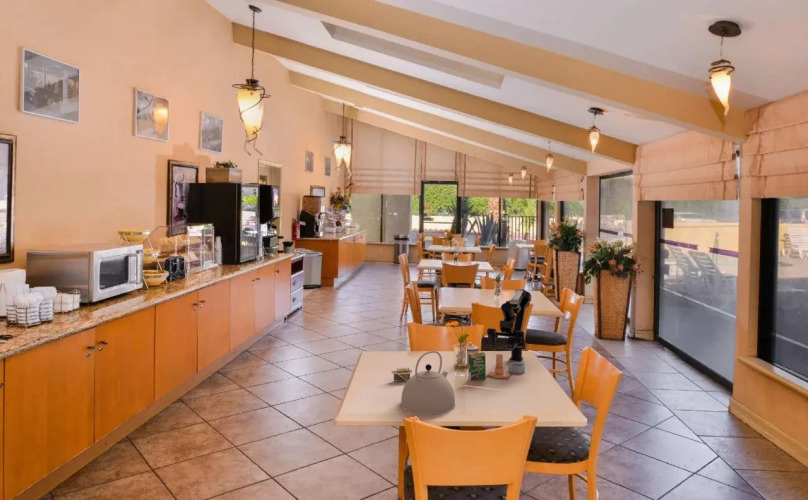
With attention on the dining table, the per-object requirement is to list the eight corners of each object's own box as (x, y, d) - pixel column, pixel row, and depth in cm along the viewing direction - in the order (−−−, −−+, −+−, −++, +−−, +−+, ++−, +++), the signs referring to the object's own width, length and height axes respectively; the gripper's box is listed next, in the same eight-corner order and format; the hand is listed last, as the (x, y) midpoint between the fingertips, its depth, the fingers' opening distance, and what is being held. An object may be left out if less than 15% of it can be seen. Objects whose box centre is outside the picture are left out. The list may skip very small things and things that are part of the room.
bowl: (510, 369, 293) (510, 362, 293) (525, 371, 290) (525, 363, 290) (507, 373, 286) (507, 365, 286) (522, 375, 283) (523, 367, 283)
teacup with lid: (480, 363, 305) (481, 341, 304) (475, 367, 296) (476, 345, 296) (459, 360, 310) (459, 339, 309) (453, 364, 301) (454, 342, 301)
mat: (490, 372, 288) (490, 371, 288) (512, 375, 284) (512, 373, 284) (485, 378, 278) (485, 377, 278) (507, 381, 273) (507, 380, 273)
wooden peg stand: (491, 371, 287) (491, 351, 286) (511, 374, 283) (511, 353, 283) (486, 377, 278) (486, 356, 277) (507, 379, 274) (507, 358, 273)
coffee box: (470, 382, 272) (470, 354, 271) (467, 380, 275) (468, 353, 274) (485, 380, 274) (486, 353, 273) (483, 378, 277) (483, 352, 276)
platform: (423, 384, 269) (424, 370, 268) (386, 387, 265) (386, 373, 264) (417, 377, 280) (417, 364, 280) (381, 379, 276) (381, 366, 276)
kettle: (426, 390, 259) (426, 341, 257) (468, 402, 245) (469, 349, 243) (390, 405, 240) (390, 352, 238) (433, 418, 225) (434, 362, 224)
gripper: (488, 312, 293) (481, 338, 284) (524, 315, 285) (519, 342, 276) (492, 324, 301) (485, 350, 291) (527, 328, 293) (522, 354, 284)
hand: (502, 349), depth 285 cm, fingers open, 9 cm apart
